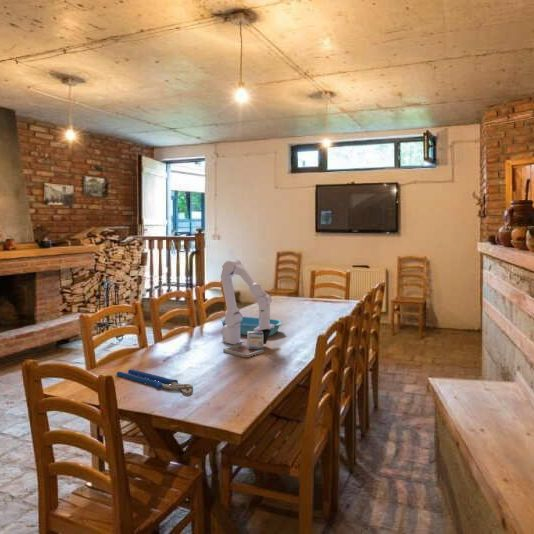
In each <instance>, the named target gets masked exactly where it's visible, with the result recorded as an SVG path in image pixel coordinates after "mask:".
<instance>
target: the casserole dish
mask: <svg viewBox="0 0 534 534" xmlns="http://www.w3.org/2000/svg"><path fill="white" fill-rule="evenodd" d="M242 317H243V319H242V322H241V323H240V335H241V334H243V336H247V331H254V328H256V327H258V326H259V317H253V316H243V315H242ZM221 323H222V328H223V327H224V326H225V325H226V323H225V317H223V318H221ZM270 324H274V328H271V329H268V330H271V332H270V334H269V336H268V337H271V335H272V336H273V335H274V334H276V333H277V332H278V330H279V328H280V327H281V326H283V324H284V323H283V322H281V320H280V319H273V318H270Z"/></svg>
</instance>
